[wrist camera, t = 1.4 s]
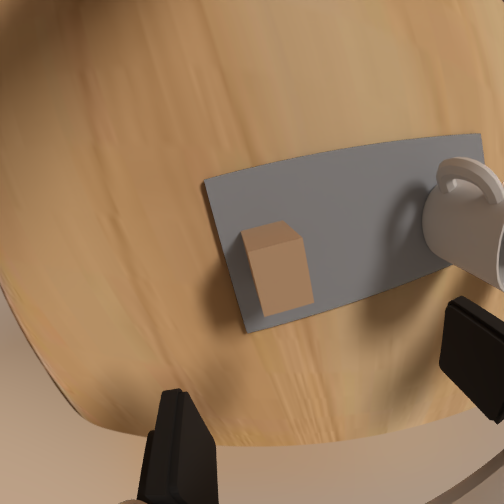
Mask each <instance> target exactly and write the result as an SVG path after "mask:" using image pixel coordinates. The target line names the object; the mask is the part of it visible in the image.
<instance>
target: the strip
mask: <svg viewBox="0 0 504 504" xmlns="http://www.w3.org/2000/svg"><path fill="white" fill-rule="evenodd" d="M455 157H467V158H470V159H474V160H477V161H479V162H481V163H482V164H484V165H485V163H484V154H483V146H482V139H481V134H462V135H448V136H437V137H426V138H417V139H408V140H400V141H392V142H384V143H377V144H370V145H364V146H357V147H351V148H345V149H339V150H334V151H328V152H323V153H317V154H312V155H307V156H302V157H297V158H292V159H287V160H283V161H278V162H274V163H269V164H265V165H260V166H256V167H252V168H248V169H244V170H240V171H236V172H232V173H228V174H224V175H220V176H216V177H212V178H209V179H205V180H204V182H205V186H206V190H207V194H208V198H209V201H210V205H211V209H212V212H213V216H214V220H215V223H216V227H217V231H218V234H219V238H220V241H221V245H222V249H223V252H224V256H225V259H226V263H227V266H228V270H229V273H230V277H231V280H232V284H233V287H234V290H235V294H236V297H237V301H238V304H239V307H240V311H241V314H242V318H243V321H244V324H245V328H246V331H247V333H251V332H255V331H259V330H262V329H266V328H270V327H273V326H277V325H281V324H284V323H288V322H291V321H295V320H298V319H301V318H305V317H308V316H311V315H315V314H318V313H321V312H324V311H327V310H331V309H334V308H337V307H340V306H343V305H346V304H349V303H352V302H355V301H358V300H361V299H364V298H367V297H370V296H372V295H375V294H378V293H381V292H384V291H386V290H389V289H392V288H395V287H397V286H400V285H403V284H405V283H408V282H411V281H413V280H416V279H418V278H421V277H423V276H426V275H428V274H431V273H433V272H436V271H438V270H441V269H443V268H446V267H448V266H450V265H453V264H452V263H450V262H448V261H446V260H444V259H442V258H440V257H439V256H437V255H436V254H434V253H433V252H432V251H431V250H430V248H429V247H428V245H427V244H426V241H425V238H424V234H423V229H422V214H423V209H424V205H425V202H426V200H427V198H428V196H429V194H430V192H431V191H432V190H433V188H434V187H435V186H436V185H437V180H436V174H437V170H438V167H439V164H440V163H441V162H442V161H444V160H446V159H450V158H455Z"/></svg>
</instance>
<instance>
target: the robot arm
mask: <svg viewBox="0 0 504 504" xmlns="http://www.w3.org/2000/svg"><path fill="white" fill-rule="evenodd" d="M439 366H440V368H441V370H442V371H443V372H444V373H445V374H446V375H447V376H448V377H449V378H450V379H451V380H452V381H453V382H454V383H455V384H456V385H457V386H458V387H459V388H460V389H461V390H462V391H463V392H464V394H465V395H466V396H467V397H468V398H469V399H470V400H471V401H472V402H473V403H474V404H475V405H476V406H477V407H478V408H479V409H480V410H481V411H482V412H483V413H484V414H485V416H486V417H487V418H488V419H489V420H494V421H495V423H496V424H499V423H500V422H501V421H502V420H504V322H503V321H502V320H500V319H499V318H497V317H496V316H494V315H493V314H491V313H489V312H488V311H486V310H485V309H483V308H482V307H480V306H478V305H477V304H475V303H474V302H472V301H470V300H469V299H467V298H465V297H464V296H459V297H457V298H455V299H453V300H451V301H450V302H449V303H448V306H447V308H446V310H445V320H444V330H443V338H442V346H441V353H440V359H439ZM120 504H219V501H218V484H217V461H216V445H215V441H214V439H213V437H212V435H211V434H210V432H209V430H208V428H207V427H206V425H205V423H204V421H203V420H202V418H201V416H200V414H199V412H198V410H197V409H196V407H195V405H194V403H193V401H192V399H191V397H190V395H189V394H188V392H182V390H181V389H179V388H178V389H172V390H166V391H163V392H162V395H161V400H160V405H159V410H158V415H157V421H156V426H155V430H152V431H150V432H149V434H148V437H147V442H146V447H145V453H144V459H143V464H142V470H141V476H140V481H139V488H138V494H137V500H126V501H124V502H121V503H120ZM426 504H504V449H503V450H502V451H501V452H500V453H499V454H497V455H496V456H495V457H494V458H493V459H491V460H490V461H489V462H488V463H487V464H485V465H484V466H482V467H481V468H480V469H478V470H477V471H476V472H474V473H473V474H472V475H470V476H469V477H467V478H466V479H465V480H463V481H461V482H460V483H458V484H457V485H455V486H454V487H452V488H451V489H449V490H448V491H446V492H444V493H443V494H441V495H439V496H438V497H436V498H435V499H433V500H431V501H429V502H427V503H426Z"/></svg>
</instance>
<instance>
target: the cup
mask: <svg viewBox="0 0 504 504" xmlns="http://www.w3.org/2000/svg"><path fill="white" fill-rule="evenodd" d="M436 180H437V185H436V186H435V187H434V188H433V190H432V191H431V192H430V194H429V196H428V198H427V200H426V202H425V205H424V209H423V214H422V229H423V234H424V238H425V241H426V244H427V245H428V247H429V248H430V250H431V251H432V252H433V253H434V254H436V255H437V256H439V257H440V258H442V259H444V260H446V261H448V262H450V263H452V264H454V265H455V266H457V267H459V268H461V269H463V270H465V271H467V272H469V273H470V274H472V275H474V276H476V277H478V278H480V279H481V280H483V281H485V282H487V283H489V284H490V285H492V286H494V287H496V288H497V289H499V290H501V291H503V292H504V187H503V186H502V184H501V182H500V180H499V179H498V177H497V176H496V175H495V174H494V172H493V171H492V170H491V169H490V168H489V167H487V166H486V165H484V164H482V163H481V162H479V161H477V160H474V159H470V158H467V157H455V158H450V159H446V160H444V161H442V162H441V163H440V164H439V167H438V170H437V174H436Z"/></svg>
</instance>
